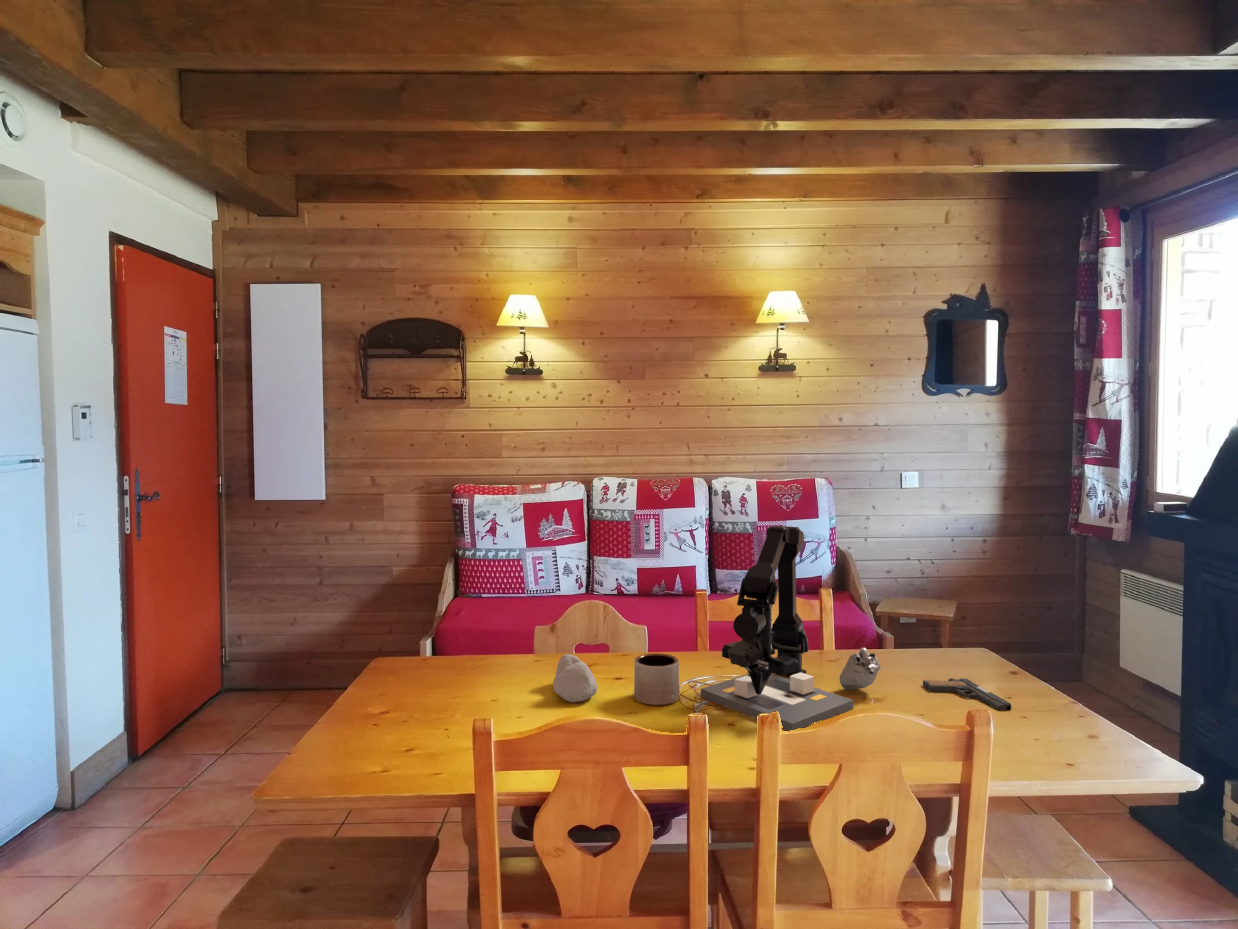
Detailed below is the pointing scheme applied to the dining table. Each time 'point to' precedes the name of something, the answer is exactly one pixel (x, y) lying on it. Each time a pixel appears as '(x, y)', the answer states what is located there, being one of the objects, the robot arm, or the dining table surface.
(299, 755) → the dining table surface
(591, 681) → the decorative stone
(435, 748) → the dining table surface
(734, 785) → the dining table surface
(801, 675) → the peach cube
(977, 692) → the handgun
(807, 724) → the switch board
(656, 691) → the planter
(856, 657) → the heart
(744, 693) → the block
